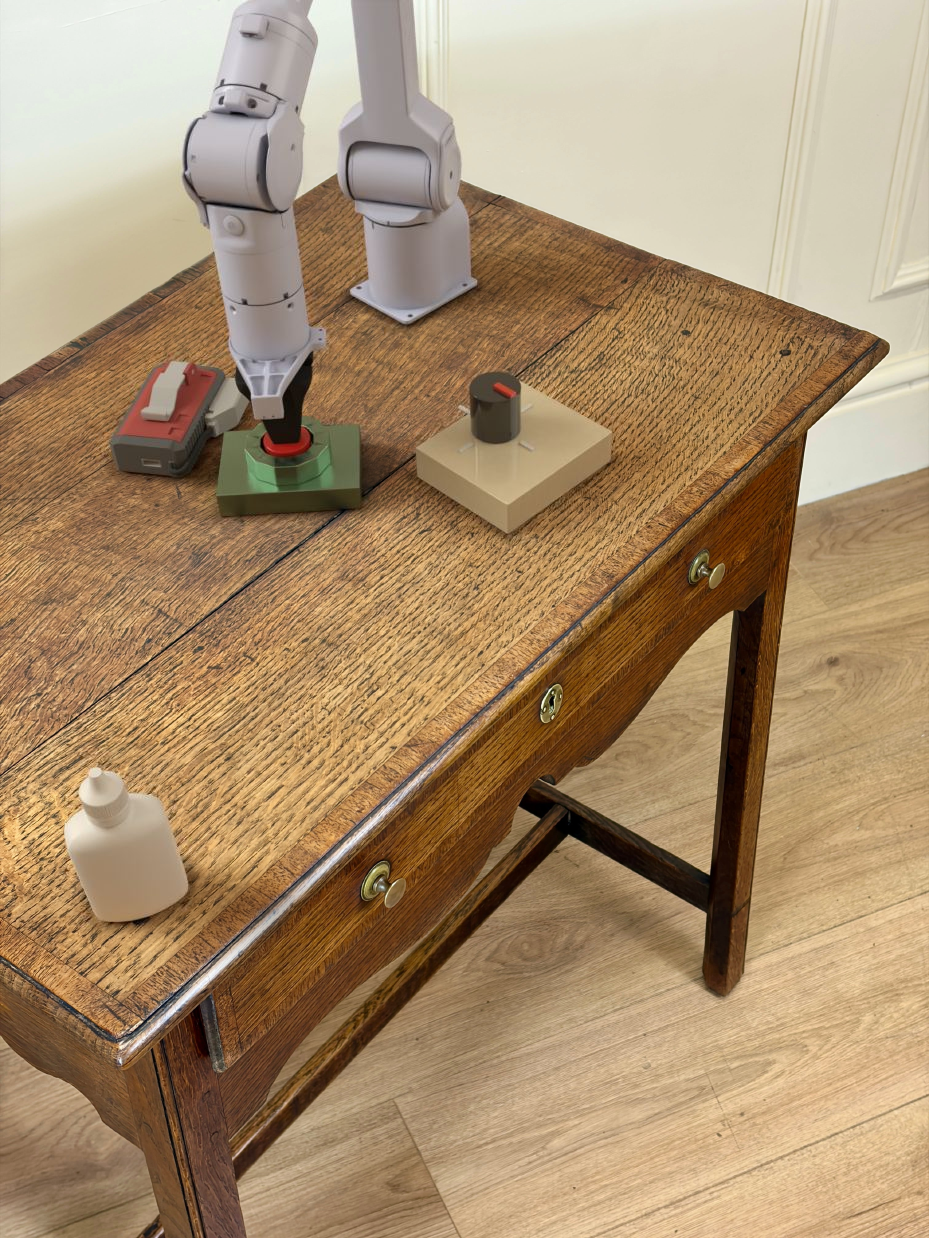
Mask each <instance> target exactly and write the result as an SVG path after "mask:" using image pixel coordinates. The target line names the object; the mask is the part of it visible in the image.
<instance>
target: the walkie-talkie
mask: <svg viewBox="0 0 929 1238" xmlns="http://www.w3.org/2000/svg"><path fill="white" fill-rule="evenodd" d="M249 404H251V402H250V401H249V400H248V399H247V398H246V397H245V396H244V395H243V394H241V393H240V392H239V390H238V388H237V386H236V382H235V377H227V376H226V373H225V372H224V370H222V369H220V368H218V367H216V366H208V365H207V366H206V365H198V364H196V363H195V362H190V361H178V360H168V361H167V362H162V363H159V364H157V365H155V366H153V367H152V368H151V370H150V371H149V373H148V375H147V376H146V377H145V380H144V382H143V383H142V385H141V386H140V388H139V390H138V392H137V393H136V395H135V397H134V400H132V403H130V404H129V405H130V406H129V407H128V409H127V411H126V412H125V414H124V415H123V416H122V419H121V420H120V423H119V424H118V426H117V427H116V428H115V431H113V434H112V436H111V437H110V440H108V444H109V448H110V451H111V455H112V458H113V461H114V465H115V466H116V468H117V469H118V471H119V472H121V471H122V472H128V473H129V472H130V473H140V474H148V475H158V476H159V475H160V476H168V477H169V476H170V477H172V478H174V479H181V478H184V477H186V476H187V475H188V474H190V473H191V471H192V470H193V469H194V465H196V462H197V461H198V458H199V456H200V453H202V449H203V448H204V446H205V445H206V443H207V441H208V440H209V439H210V438H212V437H213V438H216V437H219V436H220V435H222V434H224V432H226V431H231V430H232V429H233V428H236V427H237V426H238V425H239V423H240V421H241V419H242V417H243V415H244V413H245V410H246V409H247V408H248V406H249Z"/></svg>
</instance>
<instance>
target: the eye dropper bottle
mask: <svg viewBox="0 0 929 1238" xmlns="http://www.w3.org/2000/svg"><path fill="white" fill-rule="evenodd" d="M78 788H79V789H78V797H79V800H80V803H81V805H82V806H81V807H82V808H81V809H80V810H79V811H77V812H76V813H75V814H74V815H73V816H71V817H70V818H69V819H68V820H67V822H66V823H65V825H64V829H63V834H64V835H63V836H64V842H65V845H66V849H67V854H68V855H69V858H70V861H71V863H72V865H73V868H74V871H75V872H76V875H77V878H78V880H79V882H80V884H81V887H82V890H83V891H84V893H85V895H86V898H87V900H88V903H89V905H90V908H91V910H92V911H93V914H94V915H95V917H96V918H97V920H100V921H102V922H107V923H108V922H109V923H111V922H112V923H122V922H123V923H124V922H130V921H131V922H132V921H136V920H142V919H144V918H148V917H151V916H153V915H156V914H157V913H160V912H162V911H164V910H166V909H168V908H169V907H171V906H173V905H174V904H176V903H177V902H179V901H180V900H181V899H182V898H184V897H185V895H187V893H188V891H189V881H188V876H187V873H186V868H185V865H184V862H183V859H182V857H181V853H180V849H179V847H178V844H177V841H176V837H175V835H174V832H173V828H172V825H171V823H170V821H169V818H168V814H167V812H166V809H165V805H164V804H163V802H162V801H161V799H160V798H159V797H157V796H155V795H152V794H147V793H135V792H128V789H127V787H126V783H125V782H124V778H122V777H121V775H119V774H118V773H117V772H115V771H110V770H102V768H101V767H99V766H95V767H91V768H90V769H89V770H88V773H87V777H86V778H84V780H83V781H82V782H81V784H80V785H79V787H78Z"/></svg>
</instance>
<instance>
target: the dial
mask: <svg viewBox="0 0 929 1238" xmlns="http://www.w3.org/2000/svg"><path fill="white" fill-rule="evenodd" d="M520 381H521V380H519V379H518V378H517V377H516V376H515V375H513V374H511V373H508V372H503V371H488V372H483V373H481V374H479V375H477V376H475V377H474V378H473V379H472V380H471V381H470V383H469V387H468V391H469V392H468V393H469V394H468V395H469V410H470V426H471V432H472V434H473V435H474V436H475V437H476V438H477V439H479V440H480V441H483V442H486V443H493V444H498V443H505V442H508V441H510V440H512V439H514V438H515V437H517V436H518V434H519V433H520V431H521V383H520Z"/></svg>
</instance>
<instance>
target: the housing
mask: <svg viewBox="0 0 929 1238" xmlns="http://www.w3.org/2000/svg"><path fill="white" fill-rule="evenodd" d="M302 427H304V428H305V429H306V430H307V431H308V432H309V435H310V441H311V447H310V448H309V449H308V450H307V451H306V452H304V453H302V454H299V455H297V456H294V457H281V458H278V457H275V456H272V455H269V454H266V453H265V447H264V441H263V440H264V436H265V435H266V433H267V431H266V429H265V427H264V424H263V422H262V421H260V422H259V423H257V424H256V425H255V426H254V428H252V429H246V430H245V429H243V430H228V431H226V432H224V433H223V435H222V443H221V444H222V445H221V451H220V460H219V462H220V463H219V470H218V478H217V486H216V494H215V496H216V497H215V498H216V502H217V506H218V511H219V516H220V517H237V516H238V517H239V516H254V515H255V516H256V515H257V516H258V515H272V514H289V513H292V514H293V513H306V512H323V511H326V512H327V511H341V510H342V511H343V510H359V509H362V508H363V442H362V431H361V425H360V423H351V424H350V423H349V424H333V425H323V423H321V421H320V420H319V419H315V418H312V417H309V416H305V415H302Z"/></svg>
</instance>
